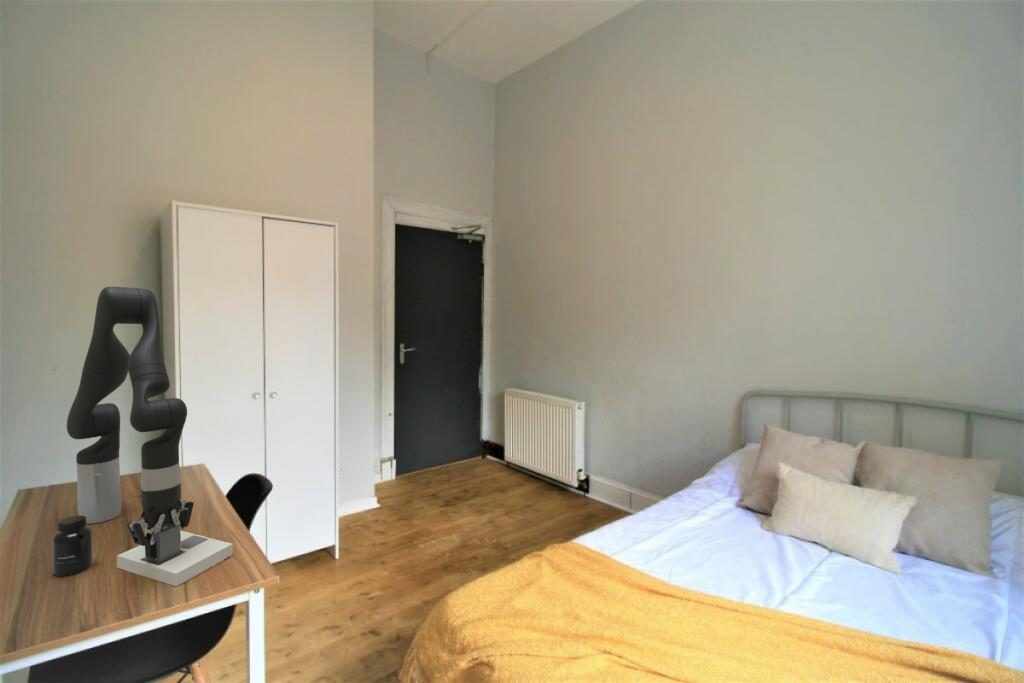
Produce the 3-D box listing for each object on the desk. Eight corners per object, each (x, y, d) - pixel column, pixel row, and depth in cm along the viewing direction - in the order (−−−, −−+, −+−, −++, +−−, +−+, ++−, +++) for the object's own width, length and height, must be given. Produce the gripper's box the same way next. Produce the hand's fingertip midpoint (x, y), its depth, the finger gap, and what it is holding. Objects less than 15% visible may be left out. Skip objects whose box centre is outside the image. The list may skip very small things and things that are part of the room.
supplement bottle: (58, 580, 104) (56, 529, 103) (48, 570, 107) (46, 521, 107) (97, 566, 110) (95, 518, 109) (87, 557, 113) (85, 510, 112)
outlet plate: (117, 567, 109) (116, 554, 109) (176, 540, 123) (176, 528, 122) (176, 586, 103) (176, 572, 103) (232, 555, 116) (232, 543, 116)
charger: (147, 562, 108) (146, 529, 108) (167, 553, 113) (166, 520, 112) (160, 566, 107) (159, 532, 106) (180, 557, 111) (179, 524, 111)
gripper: (180, 471, 116) (182, 536, 118) (116, 491, 103) (119, 565, 104) (202, 475, 114) (203, 541, 115) (139, 497, 101) (141, 572, 102)
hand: (163, 552), depth 110 cm, fingers closed on charger, 4 cm apart
